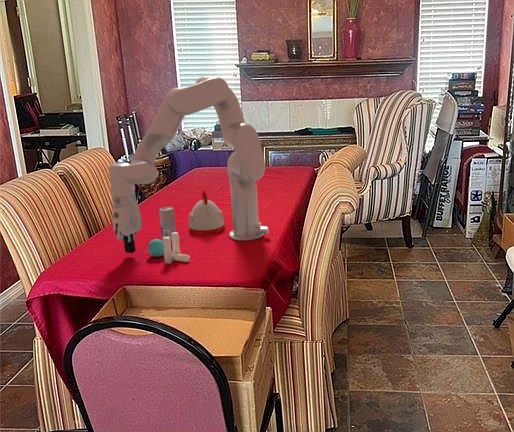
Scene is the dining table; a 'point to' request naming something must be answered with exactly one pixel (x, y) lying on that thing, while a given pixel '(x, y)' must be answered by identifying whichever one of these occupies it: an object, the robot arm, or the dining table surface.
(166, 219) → the energy drink
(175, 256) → the front pin
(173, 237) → the pin
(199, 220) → the kitchen timer
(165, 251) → the pin
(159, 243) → the ball
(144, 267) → the dining table surface
